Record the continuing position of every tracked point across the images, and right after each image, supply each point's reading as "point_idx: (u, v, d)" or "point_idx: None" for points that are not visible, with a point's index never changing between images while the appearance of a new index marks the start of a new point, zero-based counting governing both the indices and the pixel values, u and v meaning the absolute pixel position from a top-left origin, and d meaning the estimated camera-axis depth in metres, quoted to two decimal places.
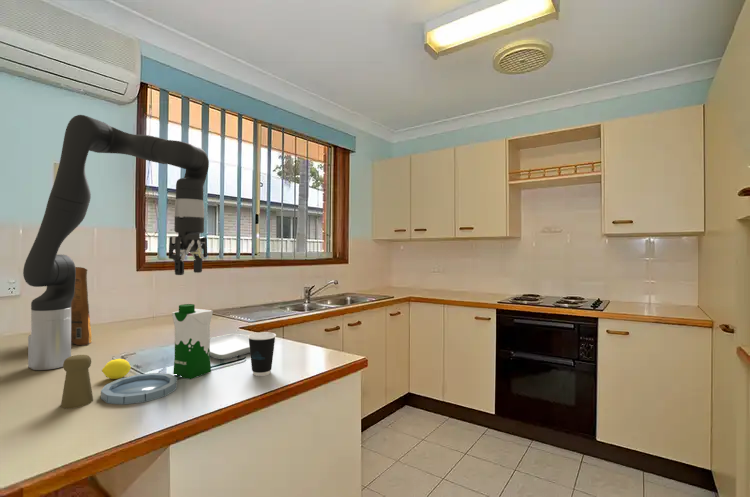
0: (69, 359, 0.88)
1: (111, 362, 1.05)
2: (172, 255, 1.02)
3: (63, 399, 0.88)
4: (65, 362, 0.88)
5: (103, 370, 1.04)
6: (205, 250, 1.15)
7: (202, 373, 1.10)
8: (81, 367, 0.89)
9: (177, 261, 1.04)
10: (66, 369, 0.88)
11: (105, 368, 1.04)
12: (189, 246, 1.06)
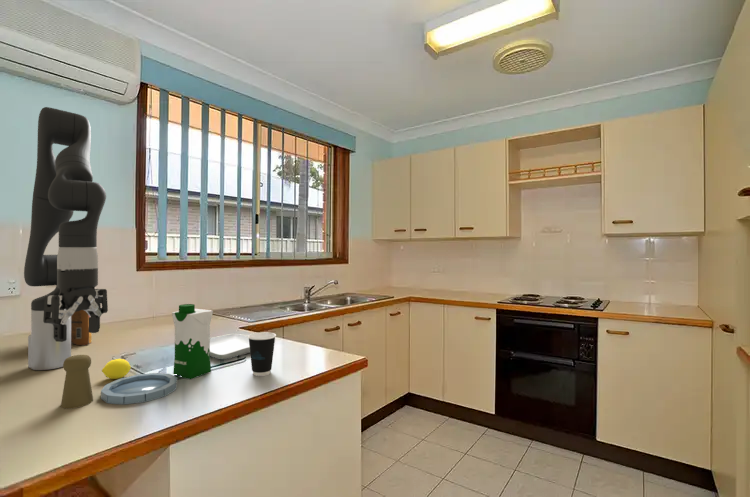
0: (69, 359, 0.88)
1: (111, 362, 1.05)
2: (48, 319, 0.83)
3: (63, 399, 0.88)
4: (65, 362, 0.88)
5: (103, 370, 1.04)
6: (104, 305, 0.96)
7: (202, 373, 1.10)
8: (81, 367, 0.89)
9: (56, 325, 0.84)
10: (66, 369, 0.88)
11: (105, 368, 1.04)
12: (74, 305, 0.87)
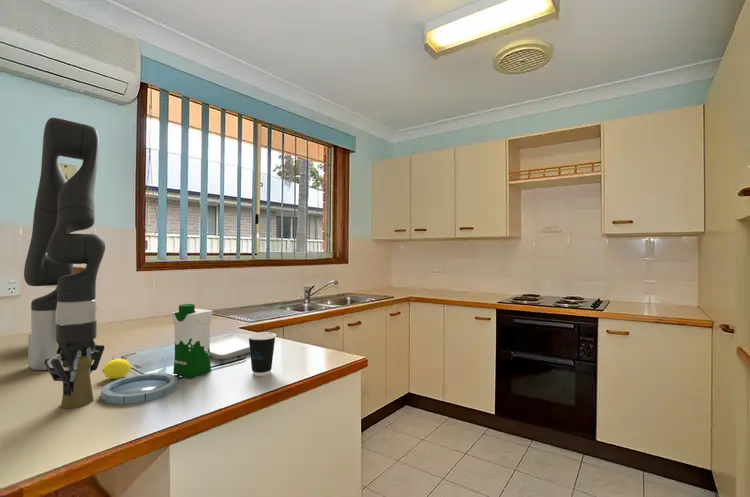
0: None
1: (111, 362, 1.05)
2: (57, 378, 0.85)
3: (63, 399, 0.88)
4: None
5: (103, 370, 1.04)
6: (96, 361, 0.94)
7: (202, 373, 1.10)
8: (82, 367, 0.89)
9: (66, 382, 0.87)
10: None
11: (105, 368, 1.04)
12: (76, 360, 0.88)
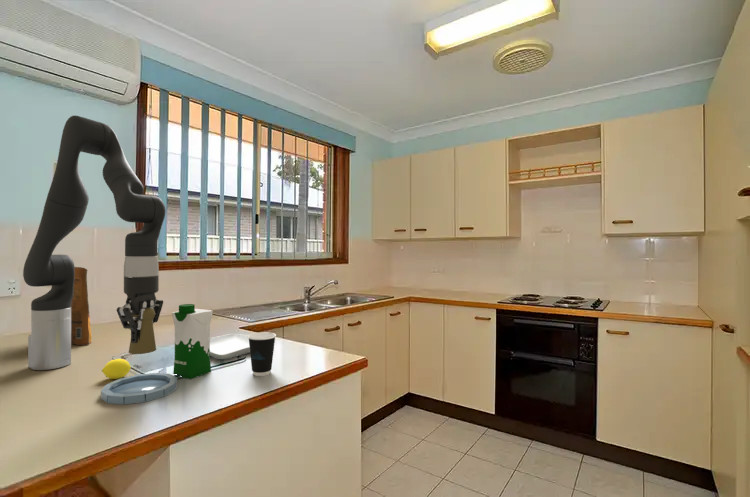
0: None
1: (111, 362, 1.05)
2: (127, 326, 0.93)
3: (131, 346, 0.96)
4: None
5: (103, 370, 1.04)
6: (157, 314, 1.02)
7: (202, 373, 1.10)
8: (147, 317, 0.97)
9: (133, 330, 0.95)
10: None
11: (105, 368, 1.04)
12: (142, 310, 0.96)
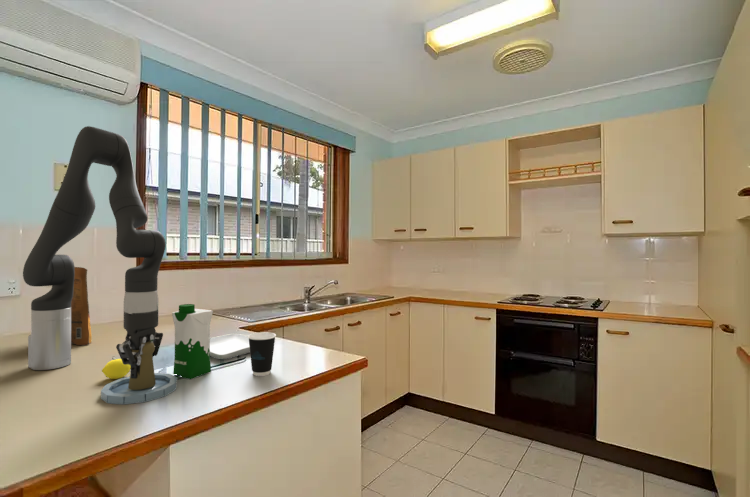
0: None
1: (111, 362, 1.05)
2: (127, 362, 0.93)
3: (131, 381, 0.96)
4: None
5: (103, 370, 1.04)
6: (157, 347, 1.02)
7: (202, 373, 1.10)
8: (147, 353, 0.97)
9: (133, 366, 0.95)
10: None
11: (105, 368, 1.04)
12: (142, 346, 0.96)
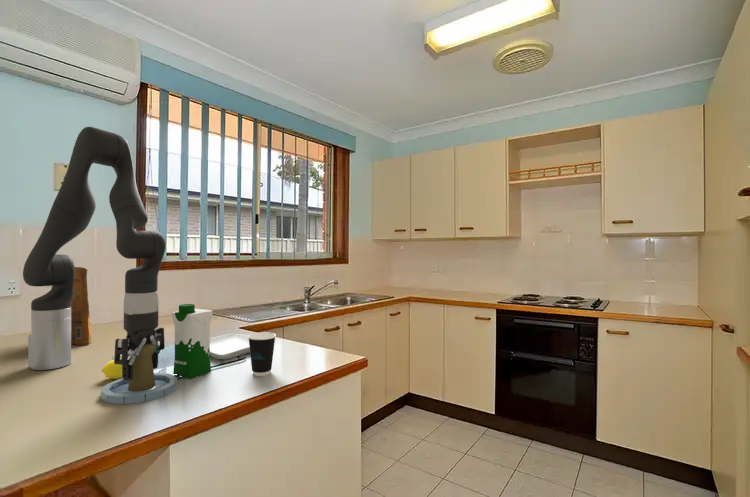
0: None
1: (111, 362, 1.05)
2: (118, 361, 0.91)
3: (130, 383, 0.96)
4: None
5: (103, 370, 1.04)
6: (162, 342, 1.04)
7: (202, 373, 1.10)
8: (146, 354, 0.97)
9: (125, 366, 0.92)
10: None
11: (105, 368, 1.04)
12: (140, 346, 0.95)
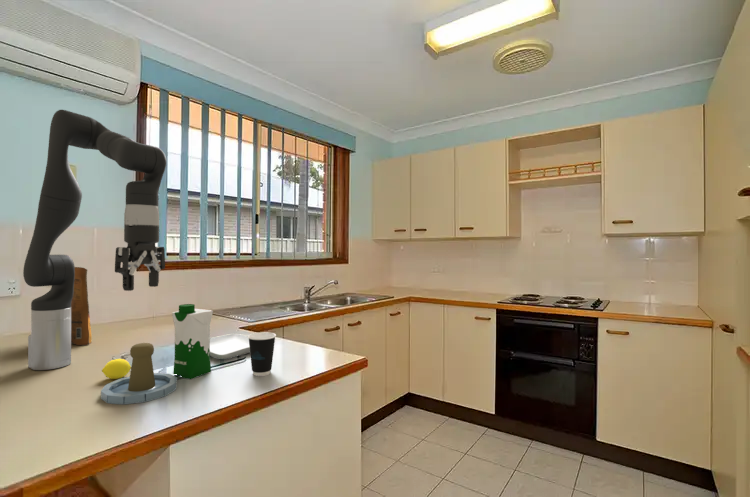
0: (136, 346, 0.96)
1: (111, 362, 1.05)
2: (119, 268, 0.91)
3: (130, 383, 0.96)
4: (132, 349, 0.96)
5: (103, 370, 1.04)
6: (162, 261, 1.03)
7: (202, 373, 1.10)
8: (146, 354, 0.97)
9: (125, 275, 0.92)
10: (133, 355, 0.96)
11: (105, 368, 1.04)
12: (140, 258, 0.95)
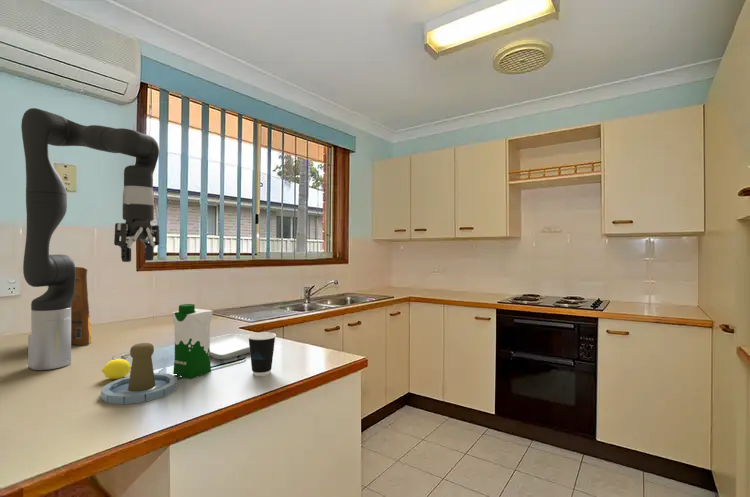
0: (135, 346, 0.96)
1: (111, 362, 1.05)
2: (118, 242, 1.03)
3: (130, 383, 0.96)
4: (132, 349, 0.96)
5: (103, 370, 1.04)
6: (157, 238, 1.15)
7: (202, 373, 1.10)
8: (146, 354, 0.97)
9: (123, 248, 1.04)
10: (133, 355, 0.96)
11: (105, 368, 1.04)
12: (137, 233, 1.07)
